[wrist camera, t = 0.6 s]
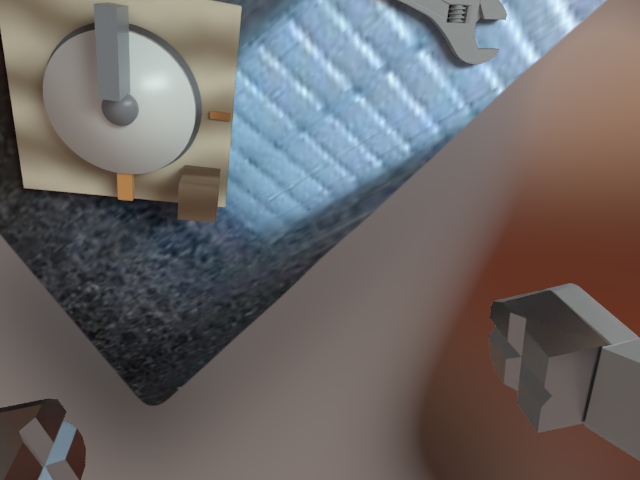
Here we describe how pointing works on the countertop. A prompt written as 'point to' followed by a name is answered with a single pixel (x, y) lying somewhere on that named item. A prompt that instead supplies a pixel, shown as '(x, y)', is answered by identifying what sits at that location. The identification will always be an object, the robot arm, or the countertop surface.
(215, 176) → the block
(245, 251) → the countertop surface
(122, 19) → the dial
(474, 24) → the adjustable wrench
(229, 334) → the countertop surface
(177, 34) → the panel
